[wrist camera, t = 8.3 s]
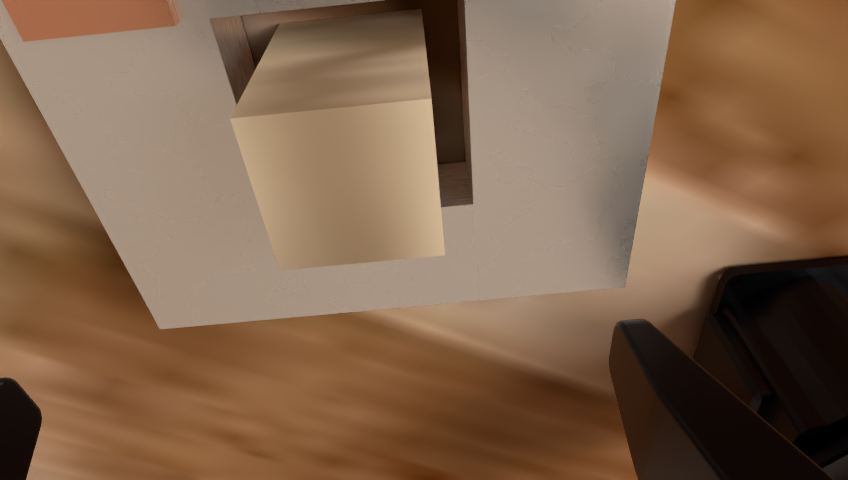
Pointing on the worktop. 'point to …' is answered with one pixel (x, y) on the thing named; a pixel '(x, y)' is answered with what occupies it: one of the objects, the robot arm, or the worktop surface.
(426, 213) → the peg
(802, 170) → the worktop surface
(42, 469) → the worktop surface
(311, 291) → the plate
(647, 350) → the robot arm
